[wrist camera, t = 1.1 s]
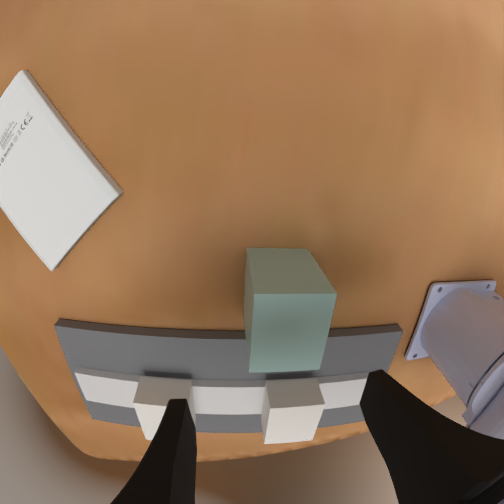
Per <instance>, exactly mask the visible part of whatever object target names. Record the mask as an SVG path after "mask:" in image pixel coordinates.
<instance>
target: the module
mask: <svg viewBox="0 0 504 504" xmlns="http://www.w3.org/2000/svg"><path fill="white" fill-rule="evenodd" d="M336 297H337V293H336V291H335V289H334V288H333V286H332V285H331V283H330V282H329V280H328V279H327V277H326V276H325V274H324V273H323V271H322V269H321V268H320V266H319V265H318V263H317V262H316V260H315V259H314V257H313V256H312V254H311V253H310V251H309V250H308V249H292V248H254V247H247V248H246V268H245V289H244V310H243V316H244V327H245V337H246V348H247V358H248V368H249V373H257V372H288V371H305V370H319V369H320V366H321V362H322V358H323V354H324V350H325V346H326V342H327V338H328V333H329V329H330V325H331V320H332V316H333V311H334V306H335V302H336Z"/></svg>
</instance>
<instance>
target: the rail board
mask: <svg viewBox="0 0 504 504" xmlns="http://www.w3.org/2000/svg"><path fill="white" fill-rule="evenodd" d="M54 326H55V330H56V333H57V336H58V339H59V341H60V344H61V347H62V350H63V353H64V355H65V358H66V361H67V363H68V366H69V368H70V371H71V373H72V376H73V378H74V380H75V383H76V385H77V387H78V390H79V392H80V394H81V396H82V398H83V401H84V403H85V405H86V407H87V409H88V411H89V413H90V415H91V417H92V419H96V420H101V421H106V422H112V423H118V424H124V425H130V426H137V427H142V430H143V433H144V435H145V438H146V439H148V440H153V437H154V435H155V433H156V431H157V429H158V427H159V424H160V422H161V420H162V417H163V415H164V412H165V409H166V407H167V404H168V401H169V400H170V399H184V398H186V399H187V402H188V405H189V409H190V412H191V415H192V418H193V421H194V424H195V428H196V432H208V433H257V432H263V439H264V444H273V443H287V442H298V441H308V440H312V439H313V437H314V434H315V431H316V429H317V428H321V427H328V426H336V425H342V424H349V423H354V422H360V421H364V420H365V419H364V416H363V413H362V410H361V407H360V404H359V403H360V400H361V397H362V394H363V390H364V387H365V384H366V381H367V377H368V374H369V372H373V371H376V370H380V369H382V370H384V371H385V372H386V373H387V371H388V369H389V366H390V364H391V361H392V359H393V356H394V354H395V351H396V349H397V346H398V344H399V341H400V338H401V336H402V333H403V330H402V329H401V328H400V326H399V325H398V324H396V325H385V326H373V327H360V328H345V329H329V333H328V338H327V342H326V346H325V350H324V354H323V358H322V362H321V366H320V369H319V370H305V371H288V372H257V373H249V368H248V358H247V348H246V337H245V331H206V330H180V329H161V328H146V327H132V326H120V325H110V324H100V323H90V322H81V321H73V320H65V319H59V320H58V321H57V322H56V324H55V325H54Z"/></svg>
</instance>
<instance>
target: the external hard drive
mask: <svg viewBox="0 0 504 504" xmlns="http://www.w3.org/2000/svg"><path fill="white" fill-rule="evenodd" d="M123 193H124V192H123V190H122V189H121V188H120V187H119V186H118V185H117V184H116V182H115V181H114V180H113V179H112V178H111V176H110V175H109V174H108V173H107V172H106V170H105V169H104V168H103V167H102V166H101V165H100V163H99V162H98V161H97V160H96V159H95V157H94V156H93V155H92V154H91V153H90V151H89V150H88V149H87V148H86V146H85V145H84V144H83V143H82V142H81V140H80V139H79V138H78V137H77V135H76V134H75V133H74V132H73V130H72V129H71V128H70V126H69V125H68V124H67V123H66V121H65V120H64V119H63V118H62V116H61V115H60V114H59V112H58V111H57V110H56V108H55V107H54V106H53V104H52V103H51V102H50V100H49V99H48V98H47V97H46V95H45V94H44V93H43V91H42V90H41V88H40V87H39V86H38V84H37V83H36V82H35V80H34V79H33V77H32V76H31V75H30V73H29V72H28V71H25V70H21V71H20V72H19V73H18V74H17V75H16V76H15V78H14V79H13V80H12V82H11V83H10V84H9V86H8V87H7V89H6V90H5V92H4V93H3V95H2V96H1V98H0V207H1V208H2V210H3V211H4V212H5V214H6V215H7V217H8V218H9V219H10V221H11V222H12V223H13V225H14V226H15V228H16V229H17V230H18V232H19V233H20V234H21V236H22V237H23V238H24V239H25V241H26V242H27V243H28V244H29V246H30V247H31V248H32V249H33V250H34V252H35V253H36V254H37V255H38V257H39V258H40V259H41V260H42V261H43V262H44V264H45V265H46V266H47V267H48V268H49V269H50V271H53V270H54V269H56V268H57V267H58V265H59V264H60V263H61V262H62V260H63V259H64V258H65V257H66V255H67V254H68V253H69V252H70V251H71V249H72V248H73V247H74V246H75V245H76V244H77V242H78V241H79V240H80V239H81V238H82V237H83V235H84V234H85V233H86V232H87V231H88V230H89V229H90V227H91V226H92V225H93V224H94V223H95V222H96V221H97V220H98V219H99V218H100V217H101V215H102V214H103V213H104V212H105V211H106V210H107V209H108V208H109V207H110V206H111V205H112V204H113V203H114V202H115V201H116V200H117V199H118V198H119V197H120V196H121V195H122V194H123Z"/></svg>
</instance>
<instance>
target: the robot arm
mask: <svg viewBox="0 0 504 504" xmlns="http://www.w3.org/2000/svg"><path fill="white" fill-rule="evenodd" d="M495 287H496V281H495V280H482V281H462V282H439V283H433V284H432V285H431V286H430V288H429V291H428V294H427V297H426V300H425V303H424V306H423V309H422V312H421V315H420V318H419V321H418V324H417V326H416V329H415V332H414V334H413V337H412V339H411V342H410V345H409V347H408V350H407V352H406V354H405V358H406V360H414V359H419V358H424V357H430V358H431V359H432V361H433V362H434V363H435V365H436V366H437V367H438V369H439V370H440V371H441V373H442V374H443V375H444V377H445V378H446V379H447V381H448V382H449V384H450V385H451V386H452V388H453V389H454V390H455V392H456V393H457V395H458V396H459V397H460V399H461V400H462V401H463V403H464V405H465V406H466V407H467V409H466V411H465V412H464V413H463V415H462V417H463V418H464V419H465V421H466V423H467V425H466V427H464V426H462V425H460V424H458V423H456V422H454V421H452V420H451V419H449V418H446V417H445V416H443V415H441V414H440V413H439V412H437V411H436V410H434V409H432V408H431V407H430V406H428V405H427V404H425V403H424V402H422V401H421V400H420V399H418V398H417V397H416V396H414V395H413V394H412V393H411V392H409V391H408V390H407V389H406V388H404V387H403V386H402V385H401V384H399V383H398V382H397V381H396V380H395V379H393V378H392V377H391V376H390V375H388V374H387V373H386V372H385V371H384V370H382V369H380V370H376V371H373V372H369V374H368V377H367V381H366V384H365V387H364V390H363V394H362V397H361V400H360V403H359V404H360V407H361V410H362V413H363V416H364V419H365V422H366V424H367V426H368V428H369V430H370V432H371V434H372V436H373V438H374V440H375V442H376V444H377V446H378V448H379V450H380V452H381V454H382V456H383V458H384V460H385V462H386V465H387V467H388V470H389V473H390V476H391V479H392V481H393V485H394V488H395V491H396V495H397V499H398V502H399V504H504V298H502V297H501V296H500V295H499V294H497V293H496V292H495V291H494V290H495ZM196 457H197V444H196V428H195V424H194V421H193V418H192V415H191V412H190V409H189V405H188V402H187V399H186V398H184V399H170V400H169V401H168V404H167V407H166V409H165V412H164V415H163V417H162V420H161V422H160V424H159V427H158V429H157V431H156V433H155V435H154V437H153V440H152V442H151V444H150V446H149V448H148V450H147V451H146V453H145V455H144V457H143V458H142V460H141V462H140V464H139V466H138V467H137V469H136V471H135V472H134V473H133V475H132V477H131V478H130V479H129V481H128V482H127V484H126V485H125V487H124V488H123V489H122V490H121V491H120V493H119V494H118V495H117V497H116V498H115V499H114V500H113V501H112V503H111V504H195V477H196Z"/></svg>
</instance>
